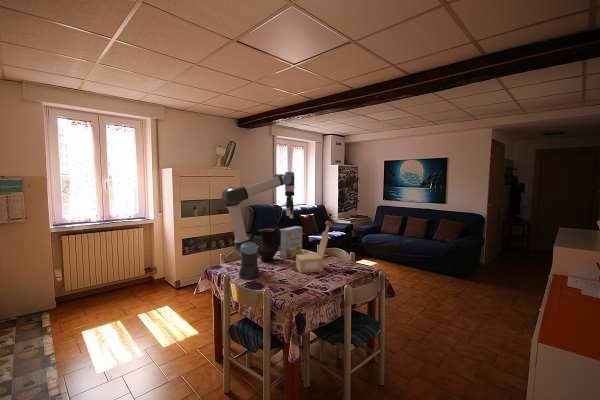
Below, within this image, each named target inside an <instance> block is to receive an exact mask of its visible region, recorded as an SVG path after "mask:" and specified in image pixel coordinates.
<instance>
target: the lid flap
mask: <svg viewBox="0 0 600 400" xmlns="http://www.w3.org/2000/svg"><path fill="white" fill-rule="evenodd" d="M325 225H326V227H325V231H323V232H322V235H321V238H320V242H319V246H318V249H317V253H318V254H319V255H320V256H321V257H322V258H324V255H325V253H326V249H327V245H328V241H329V238H330V234H329V230H330V227H332V226H333V223H332V222H331V221H330V220H326V221H325Z"/></svg>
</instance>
